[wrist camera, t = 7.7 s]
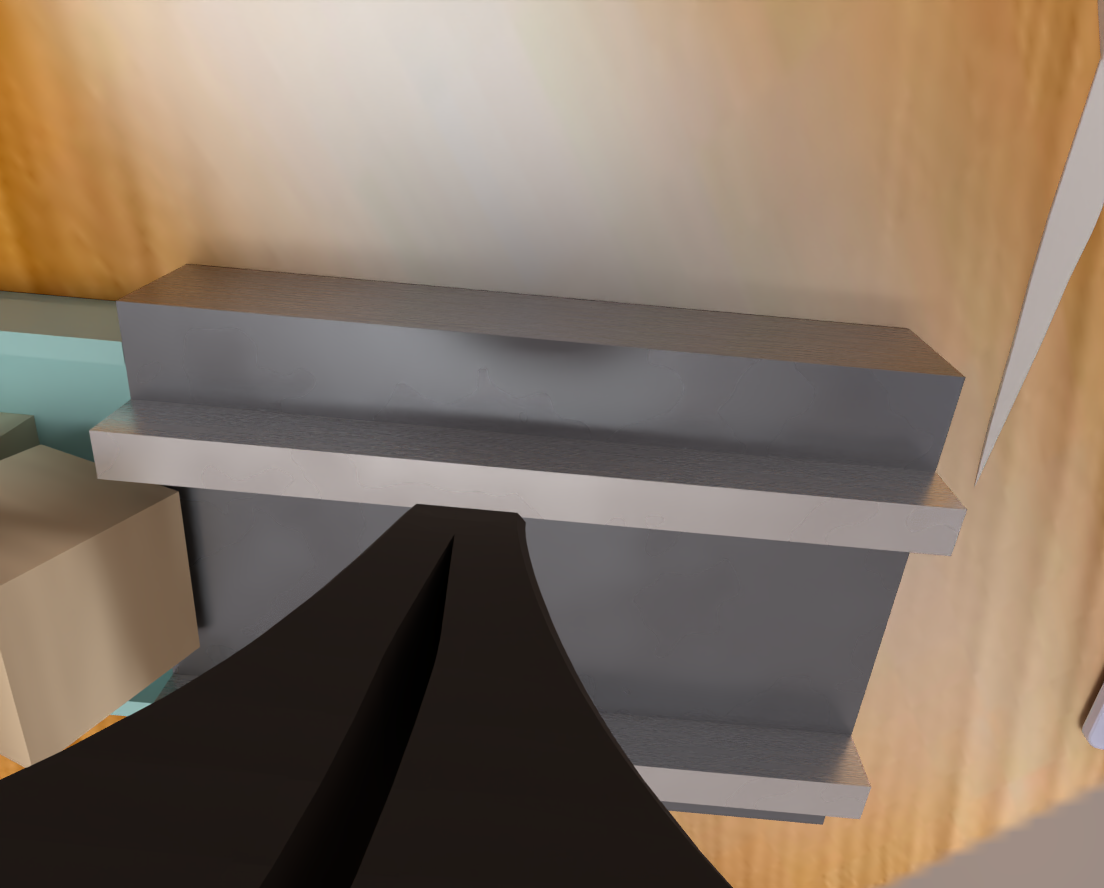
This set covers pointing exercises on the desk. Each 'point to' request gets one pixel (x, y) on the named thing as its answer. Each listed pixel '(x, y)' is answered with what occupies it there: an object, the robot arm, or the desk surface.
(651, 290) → the desk surface
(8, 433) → the block
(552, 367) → the slot board
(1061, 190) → the scissors
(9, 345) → the tray
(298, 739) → the robot arm
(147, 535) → the block
